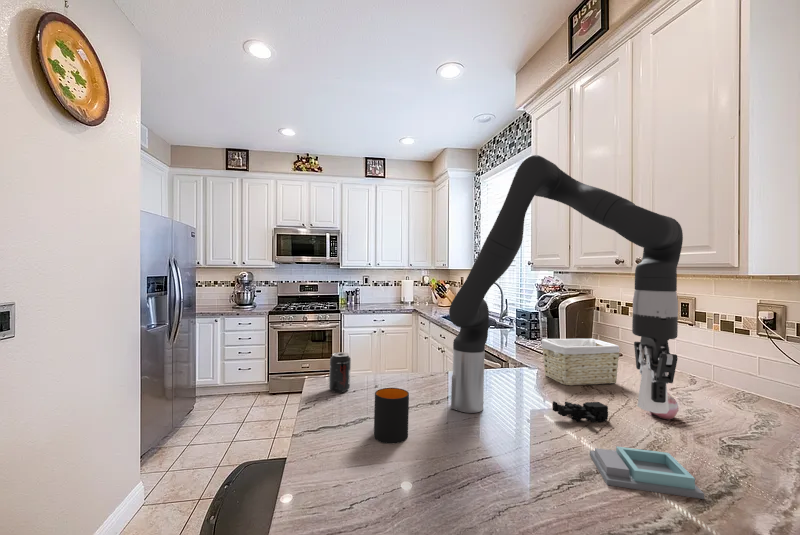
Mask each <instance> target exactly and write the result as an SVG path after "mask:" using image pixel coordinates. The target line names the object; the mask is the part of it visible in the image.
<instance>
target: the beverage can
mask: <svg viewBox="0 0 800 535" xmlns="http://www.w3.org/2000/svg"><path fill="white" fill-rule="evenodd" d="M351 361H352V359H351V356H350V353H349V352H344V351H342V352H341V351H338V352H333V353H332V354H331V357H330V358H329V376H328V377H329V378H328V380H329V381H328V382H329V383H328V384H329V385H328V387H329V390H330V391H332V392H333V393H336V394H337V393H339V394H340V393H346V392H347V391H348V390H349V389H350V388H351V367H352V366H351V365H352V364H351Z"/></svg>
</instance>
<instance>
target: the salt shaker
mask: <svg viewBox="0 0 800 535" xmlns="http://www.w3.org/2000/svg"><path fill="white" fill-rule="evenodd" d="M654 366H658V365H654ZM656 373H657V371H656ZM651 386H652V378H651V371H650V370H649V369H648V366H647V356H646V364H645V365H644V366H643V369H642V376H641V377H640V384H639V391H638V399H637V405H636V406H637V407H638V408H640V409H641V410H644V411H645V412H648V413H649V412H653V413H667V412H668V411H669V404H668V394H667V393H668V384H666V401H665V402H664V403H659V402H654V401H653V400H652V399H651Z"/></svg>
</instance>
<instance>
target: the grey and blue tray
mask: <svg viewBox="0 0 800 535" xmlns="http://www.w3.org/2000/svg"><path fill="white" fill-rule="evenodd" d="M615 449H616V450H613V449H605V448H598V447H594V450H589V456H590V458H591V459H592V461H593V463H594V465H595V467H596V468H597V470H598V472H599V473H600V476H601V477H602V479H603V481H604V482H605V484H606V485H607V486H611V487H612V486H613V487H620V488H626V489H633V490H639V491H645V492H646V491H647V492H653V493H661V494H667V495H673V496H674V495H675V496H681V497H688V498H693V499H694V498H695V499H699V500H700V499H701V500H705V492H703V490H701V489H700V488H699V487H698V485H696V478H695V477H694V475H692V474H691V473H690V472H689V471H688V470H687V469H686V468H685V467H683V465H682V464H681V463H679V462H678V460H677V459H675V457H674V456H673V455H671V454H670V452H665V451H657V450H647V449H640V448H633V447H632V448H631V447H624V446H615Z"/></svg>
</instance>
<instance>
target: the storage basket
mask: <svg viewBox="0 0 800 535" xmlns="http://www.w3.org/2000/svg"><path fill="white" fill-rule="evenodd" d="M540 342H541V345H540V346H541V351H542V354H543V355H542V356H543V357H542V358H543V367H544V368H543V369H544V376H546V377H547V378H550V379H552V380H553V381H555V382H557V383H560V384H561V385H564V386H579V385H581V386H584V385H601V384H602V385H605V384H616V383H617V379H618V368H619V360H620V359H619V358H620V350H621V349H620V345H618V344H614V343H611V342H608V341H607V342H606V341H603V340H600V339H597V338H596V339H595V338H542V339H541V341H540Z"/></svg>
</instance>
